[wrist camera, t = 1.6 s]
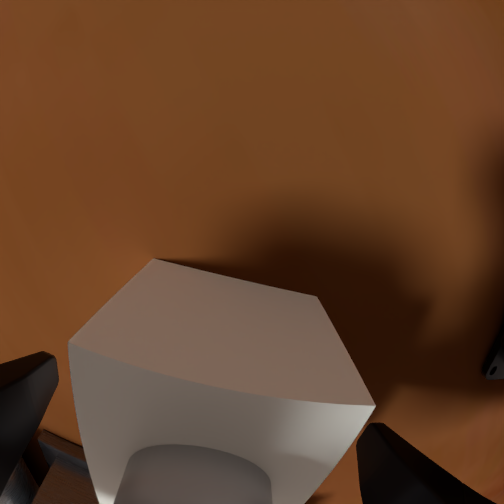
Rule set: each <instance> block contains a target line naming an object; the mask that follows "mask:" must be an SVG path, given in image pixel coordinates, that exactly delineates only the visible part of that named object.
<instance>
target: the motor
mask: <svg viewBox="0 0 504 504" xmlns="http://www.w3.org/2000/svg"><path fill="white" fill-rule="evenodd" d="M38 442H39V444H40V447H41V450H42V452H43V454H44V457H45V459H46V462H47V464H48V466H49V468H50V470H49V472H48V473H47V475H46V477H45V479H44V481H43V483H42V485H41V486H40V488H39V487H38V485H37V483H36V482H35V480H34V478H33V476H32V474H31V473H30V471H29V469H28V467H27V465H26V463H25V461H24V459H23V457H22V456H21V458H20V460H19V462H18V463H17V465H16V467H15V469H14V471H13V473H12V475H11V477H10V479H9V481H8V483H7V485H6V487H5V489H4V491H3V493H2V495H1V497H0V504H99V501H98V498H97V495H96V492H95V489H94V486H93V482H92V479H91V476H90V472H89V469H88V465H87V461H86V457H85V453H84V449H83V448H82V447H79V446H77V445H75V444H72V443H70V442H68V441H66V440H64V439H61V438H59V437H57V436H55V435H53V434H51V433H49V432H47V431H45V430H43V431H42V433H41V434H40V436H39V437H38Z"/></svg>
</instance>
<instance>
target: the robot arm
mask: <svg viewBox="0 0 504 504" xmlns="http://www.w3.org/2000/svg"><path fill="white" fill-rule="evenodd" d="M481 373H482V375H483V376H484V377H485V378H486V379H487V380H494V379H504V326H503V328H502V330H501V332H500V334H499V337H498V339H497V341H496V343H495V345H494V347H493V349H492V351H491V353H490V355H489V357H488V359H487V361H486V362H485V364H484V366H483V368H482V372H481ZM58 382H59V376H58V369H57V361H56V358H55V356H54V355H52V354H49V353H47V352H45V351H41V352H38V353H35V354H31V355H28V356H25V357H22V358H19V359H15V360H12V361H9V362H6V363H2V364H0V497H1V495H2V493H3V491H4V489H5V487H6V485H7V483H8V481H9V479H10V477H11V475H12V473H13V471H14V469H15V467H16V465H17V463H18V462H19V460H20V458H21V456H22V454H23V452H24V451H25V449H26V447H27V445H28V444H29V442H30V440H31V438H32V437H33V435H34V433H35V431H36V430H37V428H38V426H39V424H40V422H41V420H42V418H43V416H44V413H45V411H46V409H47V407H48V405H49V402H50V400H51V398H52V396H53V394H54V392H55V390H56V388H57V385H58ZM356 451H357V461H358V472H359V484H360V491H361V496H362V502H363V504H496V503H494V502H492V501H491V500H489V499H487V498H485V497H484V496H482V495H480V494H479V493H477V492H476V491H474V490H473V489H471V488H470V487H468V486H467V485H465V484H464V483H462V482H461V481H460V480H458V479H457V478H455V477H454V476H453V475H451V474H450V473H448V472H447V471H446V470H444V469H443V468H442V467H440V466H439V465H437V464H436V463H435V462H433V461H432V460H431V459H429V458H428V457H427V456H425V455H424V454H423V453H421V452H420V451H419V450H417V449H416V448H415V447H413V446H412V445H411V444H410V443H408V442H407V441H406V440H404V439H403V438H402V437H400V436H399V435H398V434H397V433H395V432H394V431H393V430H391V429H390V428H389V427H388V426H386V425H385V424H384V423H370V424H369V425H368V426H367V427H366V429H365V430H364V432H363V433H362V435H361V436H360V438H359V439H358V441H357V444H356Z"/></svg>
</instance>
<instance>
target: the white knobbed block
mask: <svg viewBox="0 0 504 504" xmlns="http://www.w3.org/2000/svg"><path fill="white" fill-rule="evenodd" d="M68 353H69V365H70V374H71V382H72V390H73V397H74V403H75V410H76V415H77V421H78V426H79V431H80V436H81V440H82V445H83V449H84V453H85V457H86V461H87V465H88V469H89V472H90V476H91V479H92V482H93V486H94V489H95V492H96V495H97V498H98V501H99V504H305V502H306V501H307V500H308V499H309V498H310V497H311V496H312V494H313V493H314V492H315V491H316V490H317V488H318V487H319V486H320V485H321V484H322V482H323V481H324V480H325V479H326V477H327V476H328V475H329V474H330V472H331V471H332V470H333V468H334V467H335V466H336V464H337V463H338V462H339V460H340V459H341V458H342V456H343V455H344V454H345V452H346V451H347V449H348V448H349V447H350V445H351V444H352V442H353V441H354V439H355V438H356V436H357V435H358V433H359V432H360V430H361V429H362V427H363V426H364V424H365V423H366V421H367V420H368V418H369V417H370V415H371V413H372V412H373V410H374V408H375V407H376V405H375V403H374V401H373V399H372V397H371V395H370V393H369V391H368V389H367V387H366V386H365V384H364V382H363V380H362V378H361V376H360V374H359V372H358V370H357V369H356V367H355V365H354V363H353V361H352V359H351V357H350V355H349V354H348V352H347V350H346V348H345V346H344V344H343V343H342V341H341V339H340V337H339V335H338V333H337V332H336V330H335V328H334V326H333V324H332V322H331V321H330V319H329V317H328V315H327V313H326V312H325V310H324V308H323V306H322V305H321V303H320V301H319V299H318V297H317V296H312V295H308V294H303V293H298V292H294V291H289V290H285V289H280V288H276V287H271V286H267V285H262V284H258V283H254V282H249V281H245V280H241V279H236V278H232V277H228V276H223V275H219V274H215V273H211V272H207V271H203V270H198V269H194V268H190V267H186V266H182V265H178V264H174V263H170V262H166V261H162V260H158V259H154V258H153V259H152V260H151V261H150V262H149V263H148V264H147V265H146V266H145V267H144V268H143V269H141V270H140V271H139V272H138V273H137V274H136V275H135V276H134V277H133V278H132V279H131V280H130V281H129V282H128V283H127V284H125V285H124V286H123V287H122V288H121V289H120V290H119V291H118V292H117V293H116V294H115V295H114V296H113V297H112V298H111V299H110V300H109V301H108V302H107V303H106V304H105V305H104V306H103V307H102V308H101V309H100V310H99V311H98V312H97V313H96V314H95V315H94V316H93V317H92V318H91V319H90V320H89V321H88V322H87V323H86V324H85V325H84V326H83V327H82V328H81V329H80V330H79V331H78V332H77V333H76V334H75V335H74V336H73V337H72V338H71V339H70V340H69V341H68Z"/></svg>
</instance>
